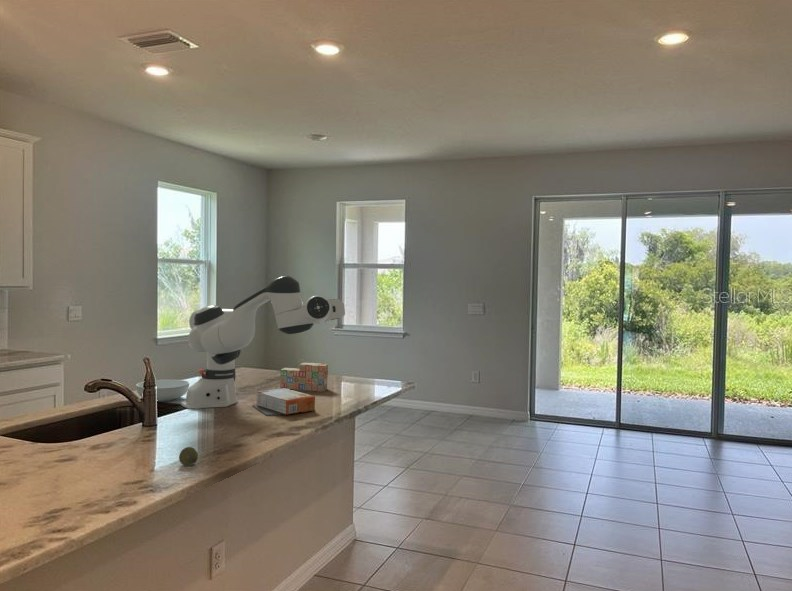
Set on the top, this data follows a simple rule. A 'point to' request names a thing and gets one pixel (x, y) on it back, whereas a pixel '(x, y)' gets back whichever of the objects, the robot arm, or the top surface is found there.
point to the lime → (188, 456)
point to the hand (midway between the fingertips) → (315, 313)
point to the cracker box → (285, 401)
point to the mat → (269, 411)
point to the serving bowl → (167, 389)
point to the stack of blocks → (305, 377)
